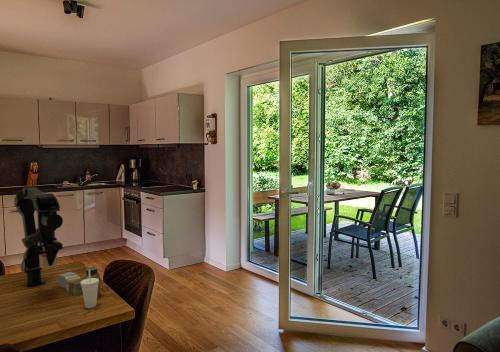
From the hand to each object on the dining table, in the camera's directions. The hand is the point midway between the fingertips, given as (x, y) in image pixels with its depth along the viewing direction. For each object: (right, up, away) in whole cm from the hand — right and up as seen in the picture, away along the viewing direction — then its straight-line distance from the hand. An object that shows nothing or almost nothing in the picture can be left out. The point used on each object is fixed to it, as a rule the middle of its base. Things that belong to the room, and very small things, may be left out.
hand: (48, 264), depth 147 cm
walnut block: (+10, -13, +3) cm, 17 cm away
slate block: (+2, -12, +12) cm, 17 cm away
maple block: (+6, -12, +8) cm, 16 cm away
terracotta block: (0, -1, 0) cm, 1 cm away
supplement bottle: (+18, -13, 0) cm, 22 cm away
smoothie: (+21, -14, -10) cm, 27 cm away
